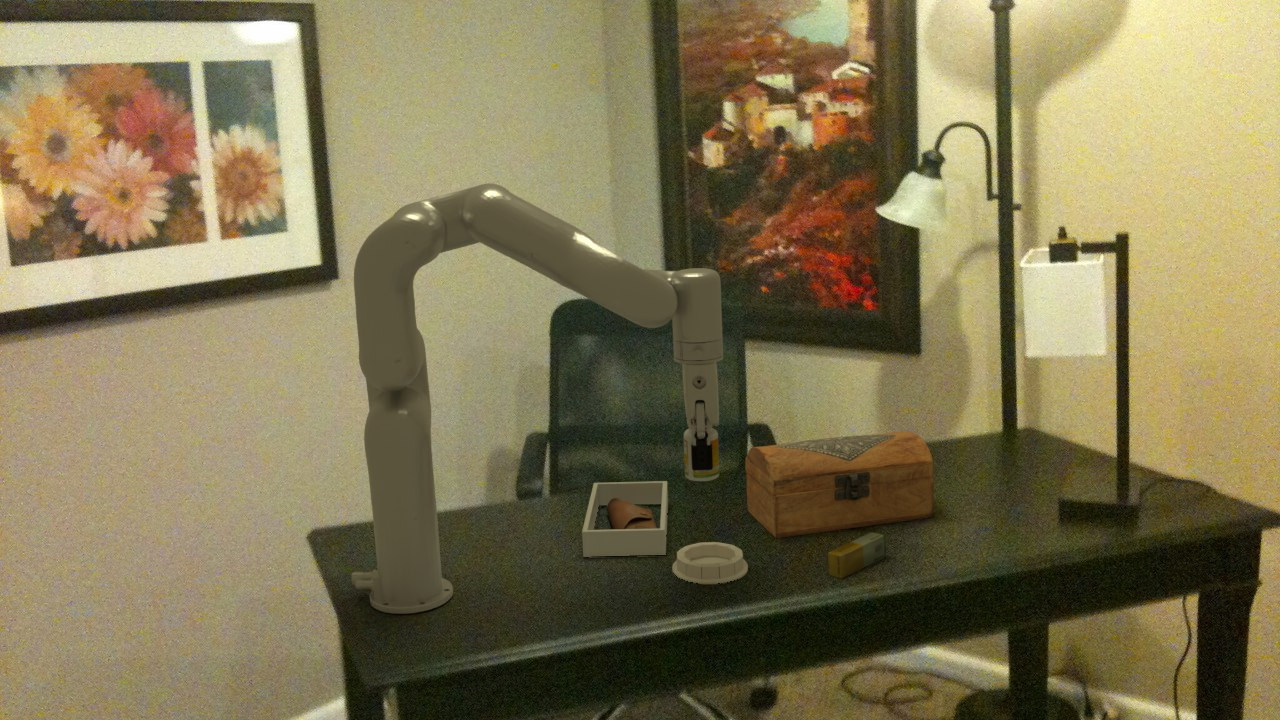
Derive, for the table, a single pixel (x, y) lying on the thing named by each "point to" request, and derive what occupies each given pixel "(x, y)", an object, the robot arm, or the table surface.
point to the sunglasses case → (629, 515)
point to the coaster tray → (710, 563)
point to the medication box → (857, 554)
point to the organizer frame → (626, 539)
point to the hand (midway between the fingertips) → (702, 462)
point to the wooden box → (840, 483)
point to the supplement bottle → (689, 472)
